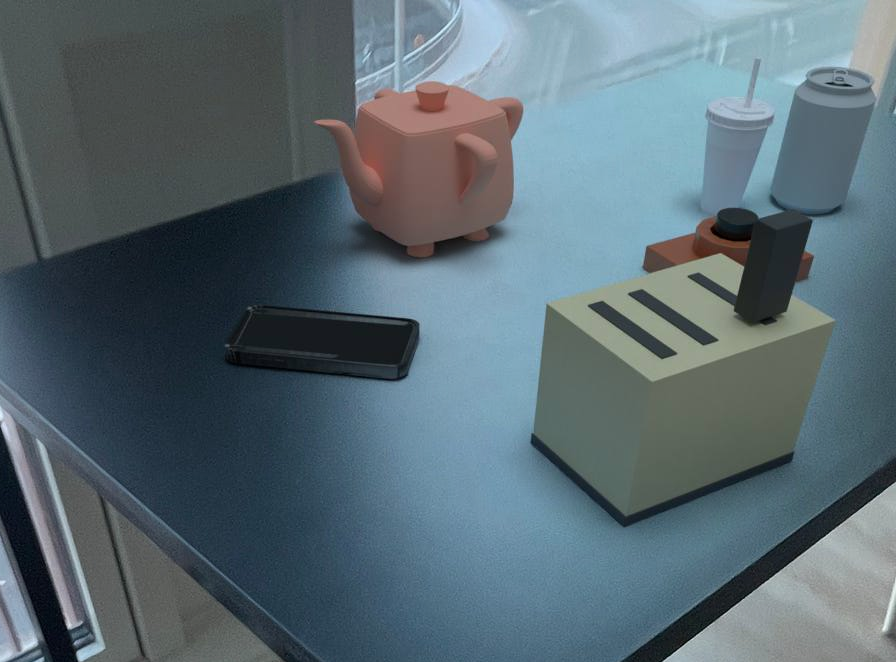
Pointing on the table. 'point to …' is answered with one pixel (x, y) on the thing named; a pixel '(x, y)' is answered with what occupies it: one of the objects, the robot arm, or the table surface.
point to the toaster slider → (772, 265)
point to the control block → (704, 250)
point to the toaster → (672, 386)
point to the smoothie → (732, 146)
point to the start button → (735, 224)
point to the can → (823, 139)
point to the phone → (324, 341)
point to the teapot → (430, 163)
